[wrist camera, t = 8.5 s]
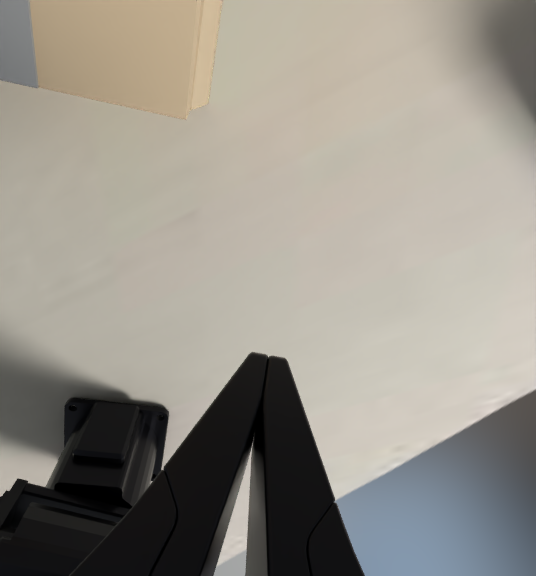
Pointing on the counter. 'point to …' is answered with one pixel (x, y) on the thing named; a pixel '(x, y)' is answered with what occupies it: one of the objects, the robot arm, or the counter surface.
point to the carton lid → (104, 50)
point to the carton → (205, 51)
